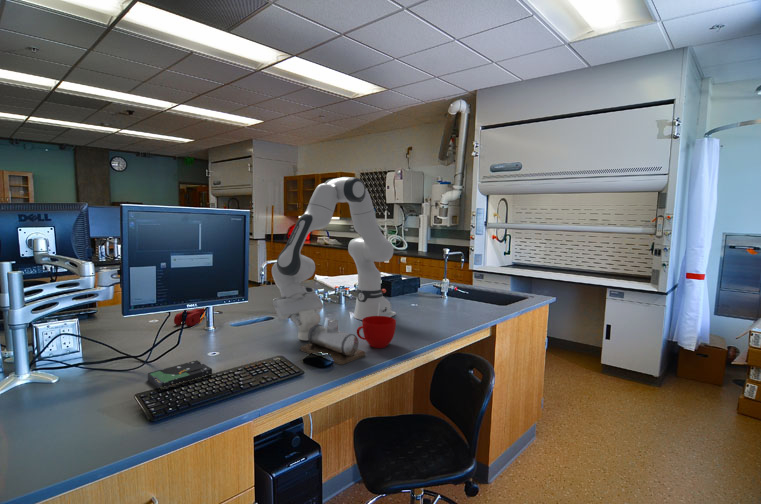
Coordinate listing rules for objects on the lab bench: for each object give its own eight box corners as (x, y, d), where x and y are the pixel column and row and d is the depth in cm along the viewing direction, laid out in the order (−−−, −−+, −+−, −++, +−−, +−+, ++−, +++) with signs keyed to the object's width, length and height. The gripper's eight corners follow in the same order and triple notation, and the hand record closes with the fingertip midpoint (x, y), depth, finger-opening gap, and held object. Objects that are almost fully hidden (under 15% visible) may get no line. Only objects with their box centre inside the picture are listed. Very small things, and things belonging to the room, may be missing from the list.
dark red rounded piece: (189, 327, 170) (189, 316, 170) (174, 326, 171) (173, 315, 171) (210, 318, 186) (210, 307, 186) (195, 317, 187) (195, 306, 186)
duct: (324, 342, 155) (325, 312, 154) (364, 355, 142) (365, 323, 141) (300, 350, 146) (300, 318, 144) (341, 365, 133) (342, 330, 131)
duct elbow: (307, 334, 162) (307, 307, 161) (321, 338, 156) (322, 311, 155) (295, 337, 157) (295, 310, 156) (309, 342, 152) (309, 314, 150)
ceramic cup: (346, 345, 152) (347, 320, 151) (380, 338, 163) (381, 314, 162) (367, 355, 142) (368, 328, 141) (402, 346, 153) (402, 321, 152)
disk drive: (196, 368, 128) (146, 381, 117) (196, 359, 128) (146, 372, 117) (212, 377, 122) (161, 392, 110) (212, 368, 121) (161, 382, 110)
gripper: (273, 294, 153) (288, 324, 147) (316, 287, 168) (331, 314, 162) (267, 303, 156) (281, 333, 151) (310, 296, 171) (324, 323, 165)
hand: (307, 323), depth 156 cm, fingers closed on duct elbow, 6 cm apart
